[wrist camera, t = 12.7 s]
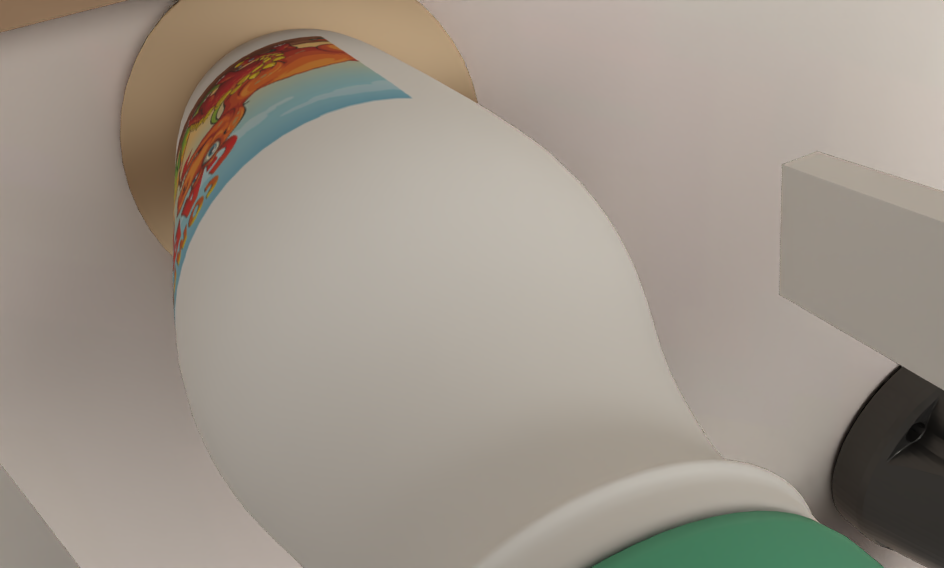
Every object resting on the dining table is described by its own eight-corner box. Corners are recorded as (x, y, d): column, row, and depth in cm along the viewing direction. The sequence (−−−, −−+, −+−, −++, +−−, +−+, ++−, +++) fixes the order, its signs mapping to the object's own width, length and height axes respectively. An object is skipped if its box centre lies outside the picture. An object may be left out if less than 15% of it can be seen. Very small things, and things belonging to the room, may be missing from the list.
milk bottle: (400, -2, 20) (1436, 256, 4) (447, 229, 24) (1052, 882, 7) (131, 60, 18) (-385, 1200, 2) (229, 299, 22) (365, 1377, 6)
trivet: (496, 236, 26) (506, 246, 25) (210, 341, 24) (212, 355, 23) (429, -83, 21) (439, -84, 20) (47, 13, 18) (41, 16, 17)
